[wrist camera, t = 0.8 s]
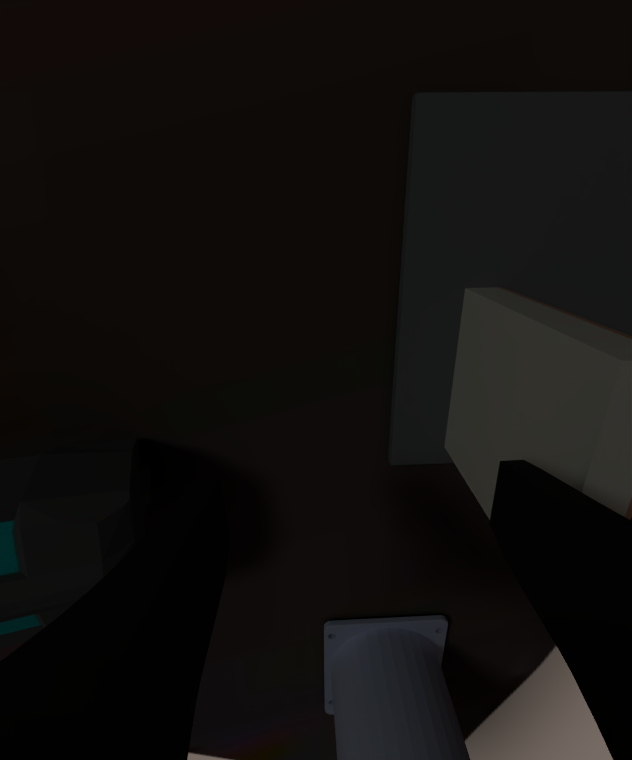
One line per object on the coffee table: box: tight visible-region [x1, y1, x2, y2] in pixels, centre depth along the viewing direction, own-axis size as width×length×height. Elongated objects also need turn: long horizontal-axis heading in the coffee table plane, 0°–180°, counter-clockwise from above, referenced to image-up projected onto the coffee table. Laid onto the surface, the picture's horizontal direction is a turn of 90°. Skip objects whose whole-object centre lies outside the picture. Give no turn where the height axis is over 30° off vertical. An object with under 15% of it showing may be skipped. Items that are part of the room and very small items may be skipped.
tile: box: [444, 287, 632, 520], centre depth 15 cm, size 8×2×9 cm, turn 1°
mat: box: [388, 91, 632, 465], centre depth 18 cm, size 16×15×1 cm
